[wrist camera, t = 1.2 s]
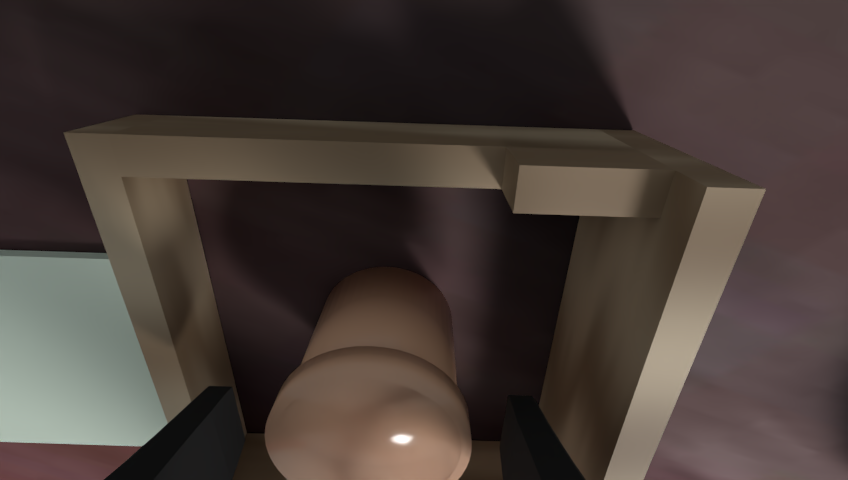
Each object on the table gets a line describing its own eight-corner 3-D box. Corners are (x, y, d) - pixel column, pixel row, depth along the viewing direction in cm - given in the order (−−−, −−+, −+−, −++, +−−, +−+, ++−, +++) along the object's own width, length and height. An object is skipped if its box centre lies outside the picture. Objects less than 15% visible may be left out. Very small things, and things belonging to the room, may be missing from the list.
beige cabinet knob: (454, 377, 16) (463, 512, 11) (322, 373, 16) (278, 507, 11) (463, 262, 13) (480, 374, 9) (309, 257, 13) (248, 367, 9)
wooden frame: (550, 458, 18) (591, 602, 13) (227, 448, 18) (158, 587, 13) (634, 130, 11) (766, 188, 7) (135, 114, 11) (-56, 162, 7)
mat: (202, 439, 17) (197, 448, 17) (-9, 432, 17) (-18, 441, 17) (144, 254, 13) (136, 260, 13) (-129, 245, 13) (-144, 251, 13)
